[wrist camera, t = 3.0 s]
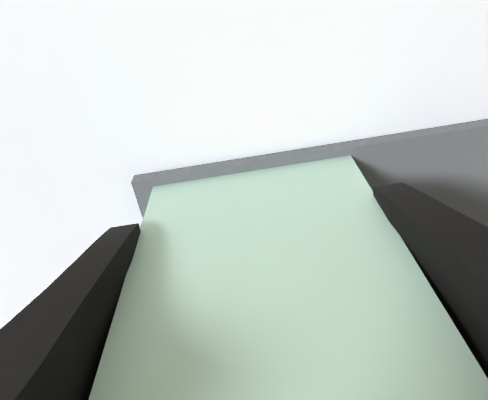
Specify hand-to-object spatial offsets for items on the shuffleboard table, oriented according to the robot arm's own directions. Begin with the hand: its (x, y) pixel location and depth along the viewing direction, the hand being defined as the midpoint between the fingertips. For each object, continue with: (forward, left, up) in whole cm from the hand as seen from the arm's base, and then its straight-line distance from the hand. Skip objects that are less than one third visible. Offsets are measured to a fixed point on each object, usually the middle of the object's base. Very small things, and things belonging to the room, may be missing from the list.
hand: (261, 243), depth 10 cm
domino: (0, 0, -2) cm, 2 cm away
